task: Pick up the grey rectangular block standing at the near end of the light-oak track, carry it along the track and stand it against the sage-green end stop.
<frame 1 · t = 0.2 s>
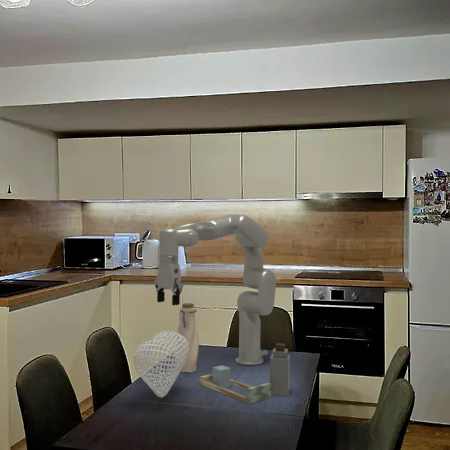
hand: (168, 303, 217), 31 cm above the table, fingers open, 9 cm apart
water bottle: (187, 371, 232), on the table
heart: (162, 397, 199), on the table
grey rectangular block: (221, 385, 212), resting in track
track: (234, 390, 206), on the table
perfume bottle: (279, 392, 205), on the table
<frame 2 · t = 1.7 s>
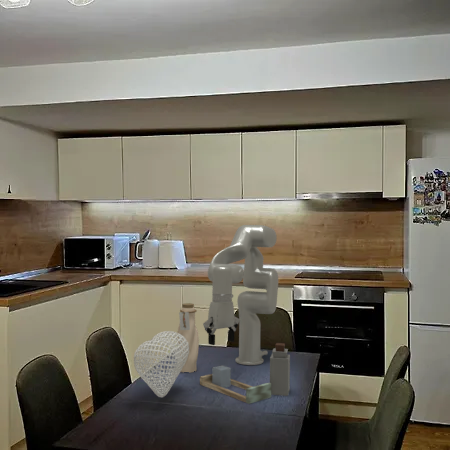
hand: (221, 342, 211), 17 cm above the table, fingers open, 9 cm apart
nothing on the table moved.
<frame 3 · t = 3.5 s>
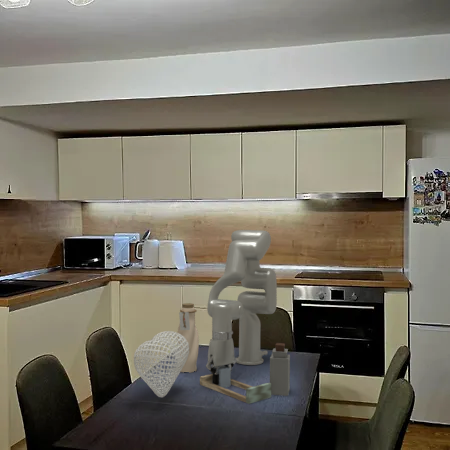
hand: (221, 381, 212), 1 cm above the table, fingers closed on grey rectangular block, 5 cm apart
grey rectangular block: (221, 385, 212), resting in track, touching gripper
everything else where it was.
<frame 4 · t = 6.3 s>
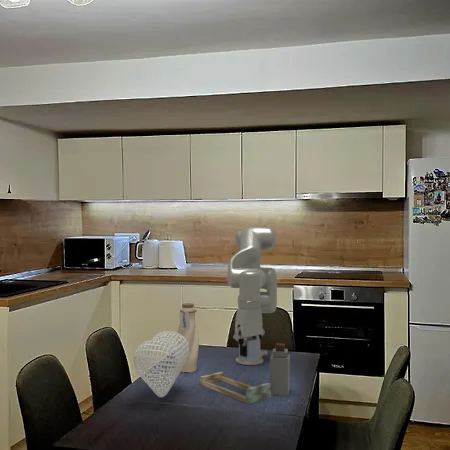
hand: (249, 354, 200), 15 cm above the table, fingers closed on grey rectangular block, 5 cm apart
grey rectangular block: (249, 358, 200), point 14 cm above the table, touching gripper
everything else where it was.
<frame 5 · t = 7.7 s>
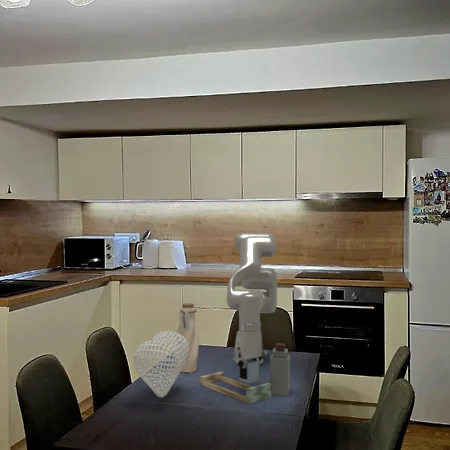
hand: (248, 376, 200), 7 cm above the table, fingers closed on grey rectangular block, 5 cm apart
grey rectangular block: (248, 380, 200), point 6 cm above the table, touching gripper
everything else where it was.
when the fingers open (3 cm above the table, at t = 8.9 s): grey rectangular block drops 1 cm, resting in track.
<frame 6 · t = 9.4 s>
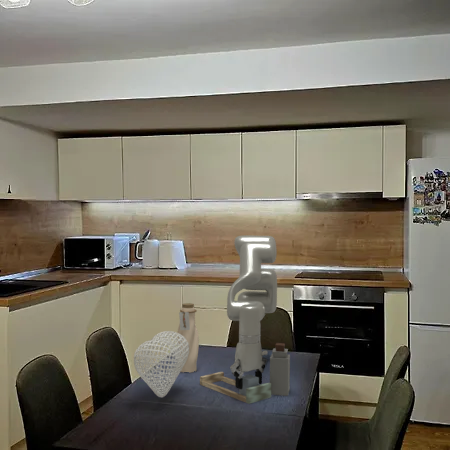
hand: (248, 385, 200), 4 cm above the table, fingers open, 9 cm apart
grey rectangular block: (248, 396, 200), resting in track
everything else where it was.
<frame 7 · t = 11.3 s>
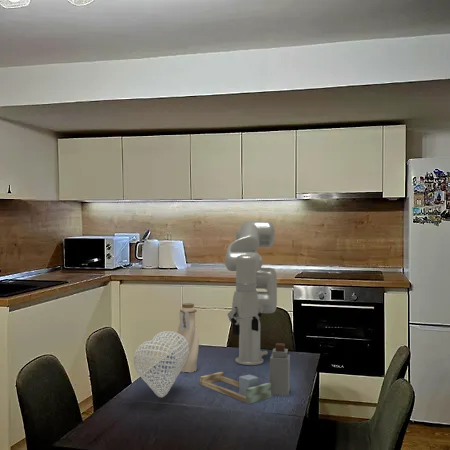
hand: (245, 332, 208), 21 cm above the table, fingers open, 9 cm apart
nothing on the table moved.
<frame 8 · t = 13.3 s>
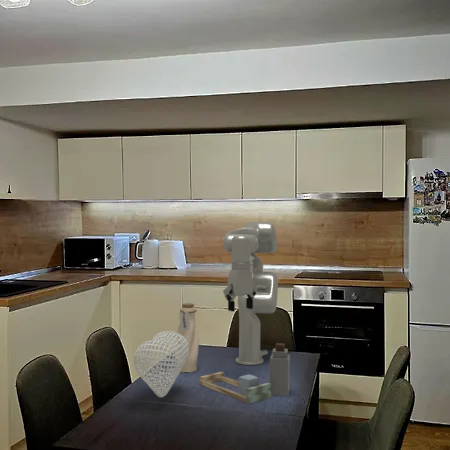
hand: (240, 309, 218), 28 cm above the table, fingers open, 9 cm apart
nothing on the table moved.
at the end: grey rectangular block inside the target area (0.4 cm from its centre), resting in track; grey rectangular block tilted 0°; the gripper is holding nothing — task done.
